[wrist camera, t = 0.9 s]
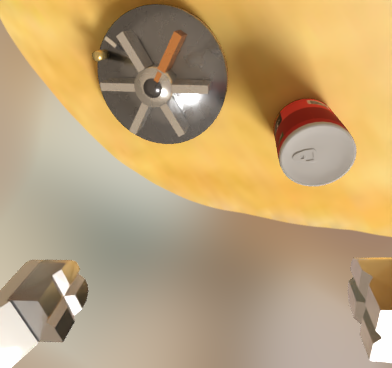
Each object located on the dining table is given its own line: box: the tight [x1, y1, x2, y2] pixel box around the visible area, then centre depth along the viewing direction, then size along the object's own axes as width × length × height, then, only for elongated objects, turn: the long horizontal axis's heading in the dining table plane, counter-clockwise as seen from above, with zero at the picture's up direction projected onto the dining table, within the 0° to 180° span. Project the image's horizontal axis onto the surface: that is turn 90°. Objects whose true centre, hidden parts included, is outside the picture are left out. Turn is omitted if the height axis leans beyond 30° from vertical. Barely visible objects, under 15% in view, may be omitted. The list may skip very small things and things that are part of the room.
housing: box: [92, 4, 228, 144], centre depth 39 cm, size 18×18×4 cm
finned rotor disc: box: [100, 30, 212, 137], centre depth 37 cm, size 14×13×4 cm
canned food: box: [274, 99, 356, 186], centre depth 36 cm, size 8×8×11 cm
